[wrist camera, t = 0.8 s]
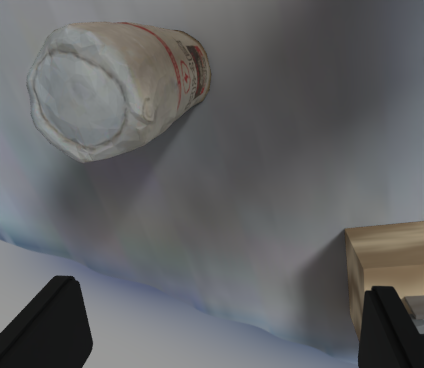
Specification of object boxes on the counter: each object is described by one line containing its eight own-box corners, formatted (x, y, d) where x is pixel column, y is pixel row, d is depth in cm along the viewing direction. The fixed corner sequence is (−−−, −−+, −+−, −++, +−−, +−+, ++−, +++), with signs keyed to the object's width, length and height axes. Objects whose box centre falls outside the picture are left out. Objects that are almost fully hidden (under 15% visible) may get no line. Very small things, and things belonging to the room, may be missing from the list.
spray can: (199, 125, 38) (137, 193, 19) (127, 101, 38) (-4, 145, 19) (223, 44, 35) (176, 32, 16) (144, 18, 35) (8, -24, 16)
